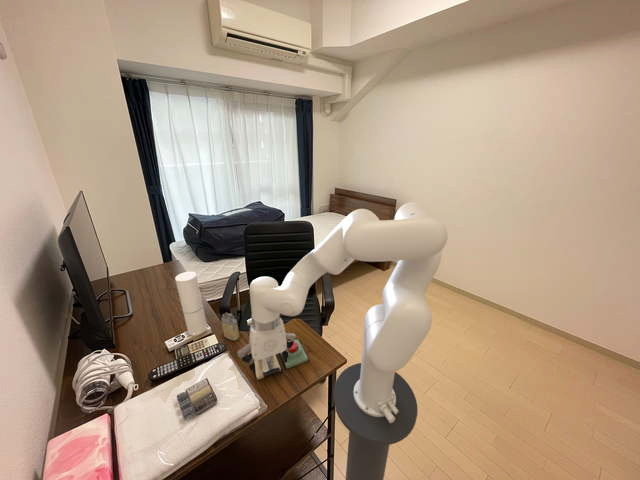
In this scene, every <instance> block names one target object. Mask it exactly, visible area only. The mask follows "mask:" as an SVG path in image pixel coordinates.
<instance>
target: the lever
mask: <svg viewBox="0 0 640 480" xmlns="http://www.w3.org/2000/svg"><path fill="white" fill-rule="evenodd" d="M266 361H267V365H268V369H269V370H268V371H265V372H263V377H264V378H263V379H267V378H269V377H272V376H275V375H277V374H280V373H281V371H280V368H281V367H280V368H279V367H276V368H272V365H271V361H270V357H267V358H266Z"/></svg>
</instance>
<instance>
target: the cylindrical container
mask: <svg viewBox="0 0 640 480" xmlns="http://www.w3.org/2000/svg"><path fill="white" fill-rule="evenodd" d="M174 280H175V284H176V289H177V292H178V296H179V301H180V305H181V309H182V312H183V317H184V322H185V325H186V326H185V327H186V330H187V333H188V335H189V336H198V335H201V334H203V333H204V332H206V331H207V329H208V325H207V319H206V315H205V309H204V304H203V301H202V300H203V299H202V295H201V291H200V290H201V289H200V285H199V280H198V275H197V273H196V272H195V271H185V272H181V273H178V274H177V275H176V276H175V277H174ZM205 327H206V328H205ZM198 332H199V333H198ZM193 333H195V334H193Z"/></svg>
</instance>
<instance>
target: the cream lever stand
mask: <svg viewBox="0 0 640 480" xmlns="http://www.w3.org/2000/svg"><path fill="white" fill-rule="evenodd" d="M270 361H271V365H272V368H276V367H279V368H280V372H281V371H282V368H281V365H280V363H279V360H278V358H277V354H275V355H273V356H270ZM254 362H255V370H256V373H255V376H256V380H257V381H258V380H259V381H260V380H262V379H264V377H263V372H265V371H268V370H269V369H268V365H267V361H266V358H263V359H260V360H255V361H254Z"/></svg>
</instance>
